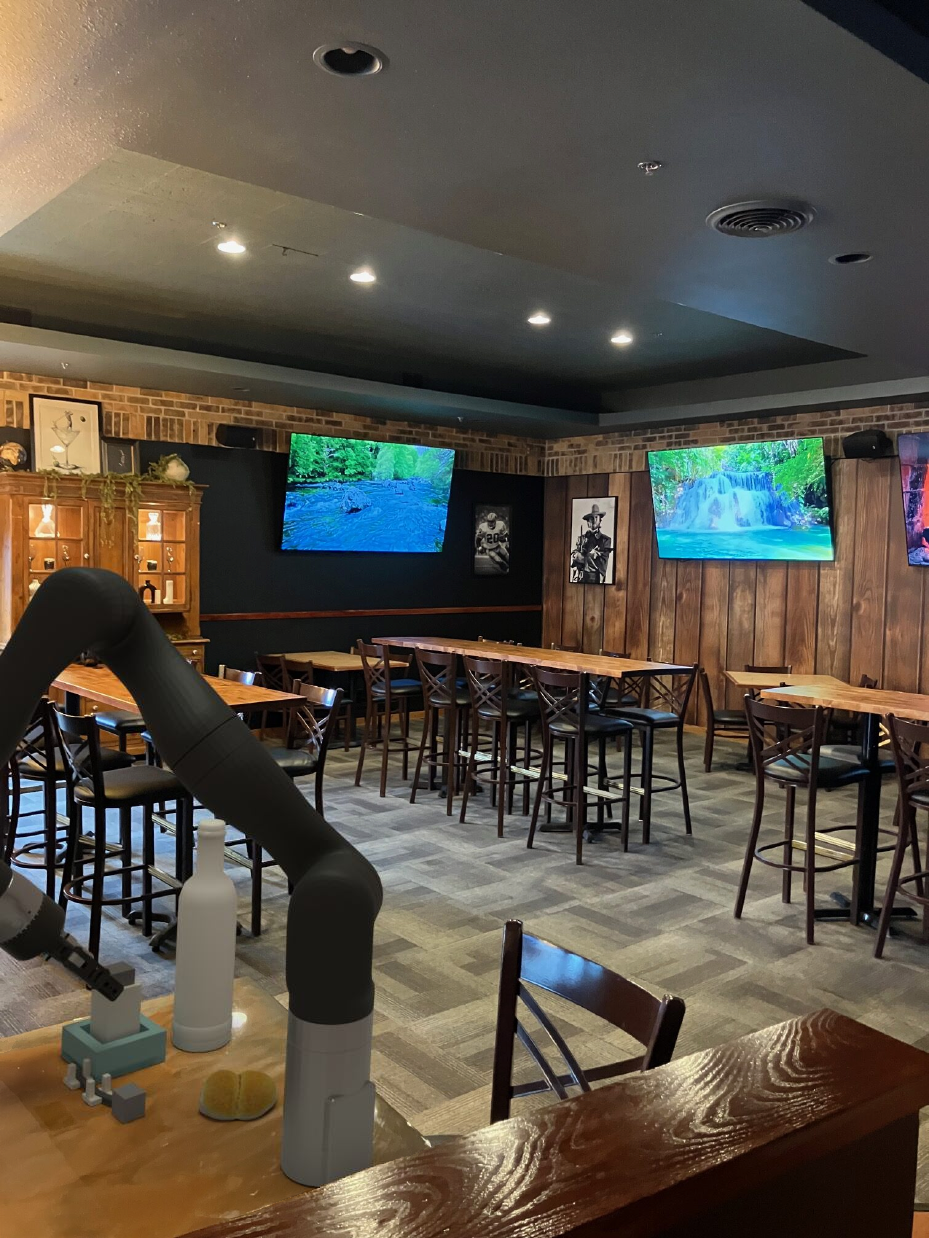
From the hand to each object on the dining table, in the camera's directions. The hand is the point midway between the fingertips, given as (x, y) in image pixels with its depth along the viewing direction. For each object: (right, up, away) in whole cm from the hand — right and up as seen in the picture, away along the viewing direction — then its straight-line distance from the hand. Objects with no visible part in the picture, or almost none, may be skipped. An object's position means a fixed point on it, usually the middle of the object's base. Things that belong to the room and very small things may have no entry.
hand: (102, 983), depth 126 cm
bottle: (+11, -11, +8) cm, 17 cm away
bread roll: (+19, -12, -8) cm, 24 cm away
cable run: (+3, -11, -8) cm, 14 cm away
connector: (+1, -9, +1) cm, 10 cm away
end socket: (+1, -10, +2) cm, 11 cm away
